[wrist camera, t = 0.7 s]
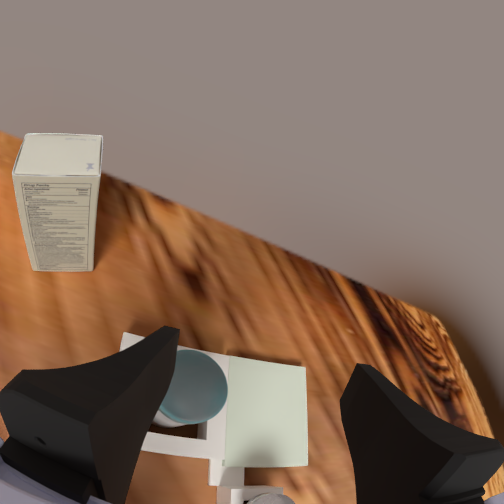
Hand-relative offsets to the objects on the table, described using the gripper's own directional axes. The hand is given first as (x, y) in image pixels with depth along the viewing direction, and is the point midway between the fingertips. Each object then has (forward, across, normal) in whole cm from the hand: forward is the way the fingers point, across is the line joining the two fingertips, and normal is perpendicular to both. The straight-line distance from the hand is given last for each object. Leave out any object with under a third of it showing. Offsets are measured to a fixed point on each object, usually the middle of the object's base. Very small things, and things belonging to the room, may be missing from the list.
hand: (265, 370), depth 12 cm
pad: (+11, -3, +13) cm, 18 cm away
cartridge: (+9, +6, +12) cm, 16 cm away
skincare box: (+14, +18, +3) cm, 23 cm away
